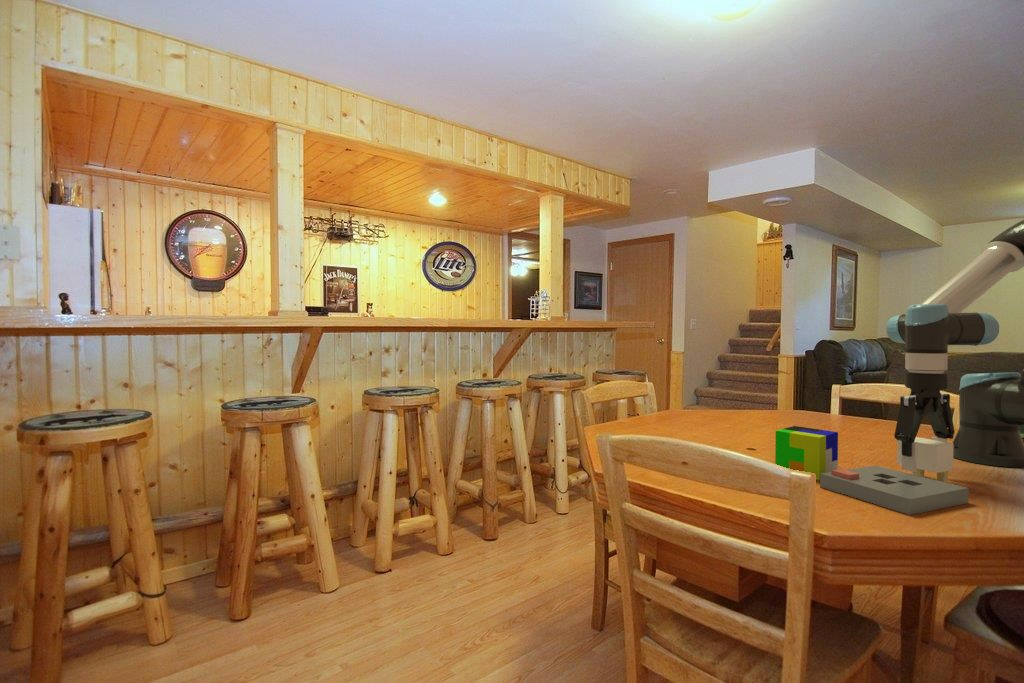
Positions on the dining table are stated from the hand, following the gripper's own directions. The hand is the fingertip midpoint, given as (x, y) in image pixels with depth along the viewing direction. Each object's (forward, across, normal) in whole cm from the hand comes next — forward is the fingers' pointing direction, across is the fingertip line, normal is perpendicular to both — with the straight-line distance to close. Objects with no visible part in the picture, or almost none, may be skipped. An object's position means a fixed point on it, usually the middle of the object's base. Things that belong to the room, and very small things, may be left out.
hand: (924, 467), depth 115 cm
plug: (+3, 0, 0) cm, 3 cm away
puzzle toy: (+3, +19, -15) cm, 24 cm away
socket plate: (+3, +18, +4) cm, 19 cm away
